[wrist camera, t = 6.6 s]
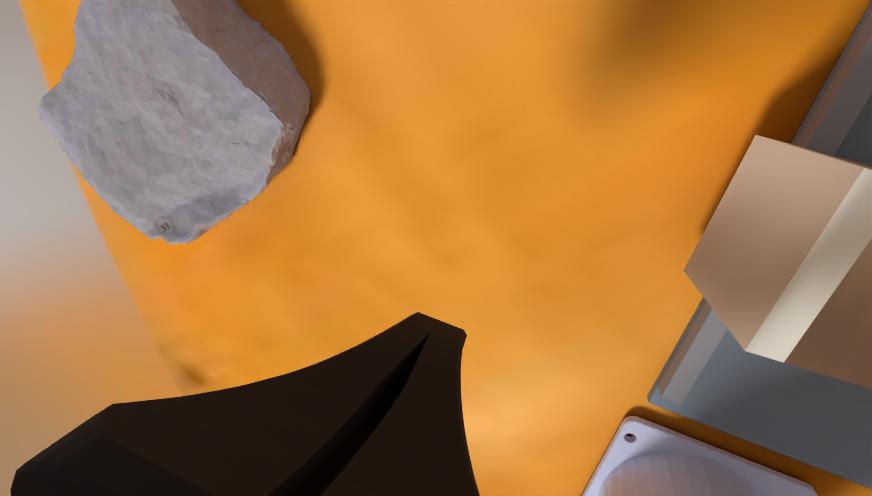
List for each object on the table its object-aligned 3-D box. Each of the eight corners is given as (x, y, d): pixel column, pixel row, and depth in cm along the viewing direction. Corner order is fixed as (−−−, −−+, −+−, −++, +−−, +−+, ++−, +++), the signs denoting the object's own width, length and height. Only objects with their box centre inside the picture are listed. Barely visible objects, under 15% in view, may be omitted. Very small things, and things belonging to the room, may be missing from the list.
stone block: (353, 98, 21) (178, -78, 19) (312, 125, 17) (82, -94, 15) (237, 236, 27) (90, 114, 25) (184, 281, 23) (3, 140, 21)
